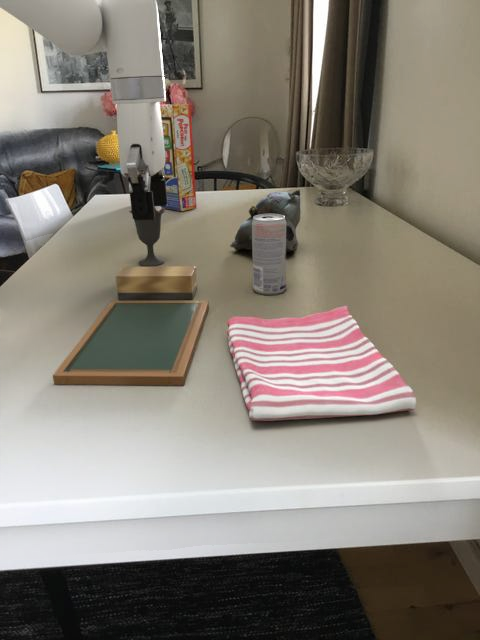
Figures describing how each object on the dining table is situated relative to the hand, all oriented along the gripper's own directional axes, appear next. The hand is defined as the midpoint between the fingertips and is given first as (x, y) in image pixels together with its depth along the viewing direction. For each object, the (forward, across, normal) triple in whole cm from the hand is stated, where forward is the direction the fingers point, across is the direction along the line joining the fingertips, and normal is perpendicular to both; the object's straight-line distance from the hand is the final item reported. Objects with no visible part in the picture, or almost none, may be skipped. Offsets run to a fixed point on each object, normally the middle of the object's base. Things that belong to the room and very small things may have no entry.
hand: (151, 212), depth 87 cm
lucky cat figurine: (+14, -26, +17) cm, 34 cm away
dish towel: (+14, +26, +23) cm, 37 cm away
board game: (+14, -73, -13) cm, 75 cm away
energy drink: (+14, -2, +18) cm, 23 cm away
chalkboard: (+13, +18, +1) cm, 22 cm away
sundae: (+14, -18, -5) cm, 23 cm away
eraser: (+14, 0, 0) cm, 14 cm away
